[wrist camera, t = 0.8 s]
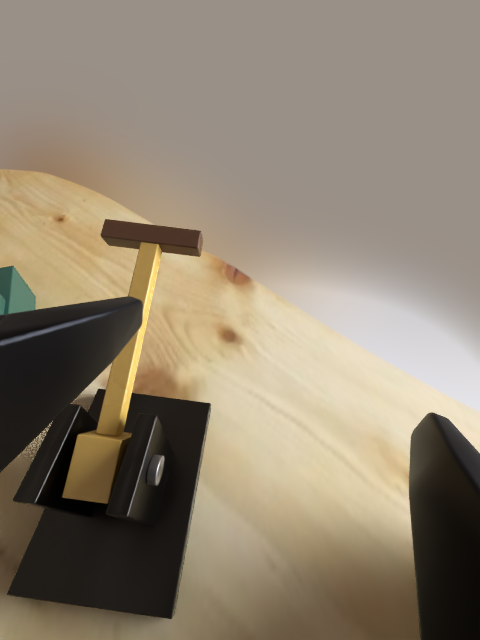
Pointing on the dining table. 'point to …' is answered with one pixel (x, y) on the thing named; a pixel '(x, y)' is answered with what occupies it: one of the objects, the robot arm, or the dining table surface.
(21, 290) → the green boxy piece
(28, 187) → the dining table surface
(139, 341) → the tap lever
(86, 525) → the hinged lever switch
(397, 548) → the dining table surface
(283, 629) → the dining table surface
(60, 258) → the dining table surface
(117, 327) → the robot arm
